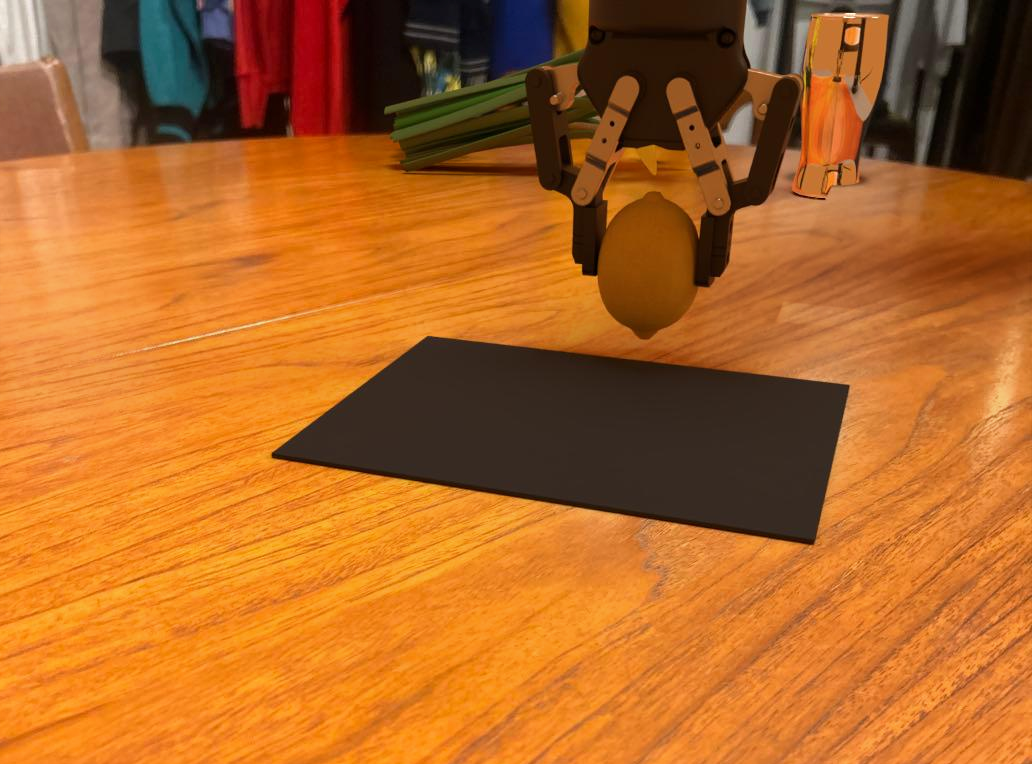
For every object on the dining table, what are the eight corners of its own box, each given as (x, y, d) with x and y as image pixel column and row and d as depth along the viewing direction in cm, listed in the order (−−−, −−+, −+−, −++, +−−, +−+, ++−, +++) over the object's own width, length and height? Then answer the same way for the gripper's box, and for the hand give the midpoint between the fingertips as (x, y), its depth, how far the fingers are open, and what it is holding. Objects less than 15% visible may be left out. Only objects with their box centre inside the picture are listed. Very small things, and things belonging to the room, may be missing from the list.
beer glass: (868, 201, 98) (898, 17, 91) (789, 199, 99) (812, 16, 92) (858, 186, 104) (885, 12, 97) (783, 184, 105) (804, 12, 98)
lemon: (664, 320, 64) (674, 178, 60) (713, 349, 59) (728, 197, 55) (577, 331, 62) (583, 185, 58) (622, 361, 57) (630, 205, 53)
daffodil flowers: (428, 158, 124) (739, 73, 114) (422, 251, 116) (755, 170, 106) (367, 29, 110) (714, -79, 100) (356, 127, 103) (730, 20, 93)
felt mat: (849, 388, 57) (849, 384, 57) (814, 544, 42) (814, 539, 42) (427, 338, 64) (427, 335, 64) (271, 457, 50) (271, 452, 49)
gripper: (499, -82, 50) (499, 283, 58) (823, -86, 45) (774, 311, 53) (550, -80, 56) (543, 251, 64) (840, -83, 51) (793, 273, 60)
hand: (648, 277), depth 59 cm, fingers closed on lemon, 5 cm apart
